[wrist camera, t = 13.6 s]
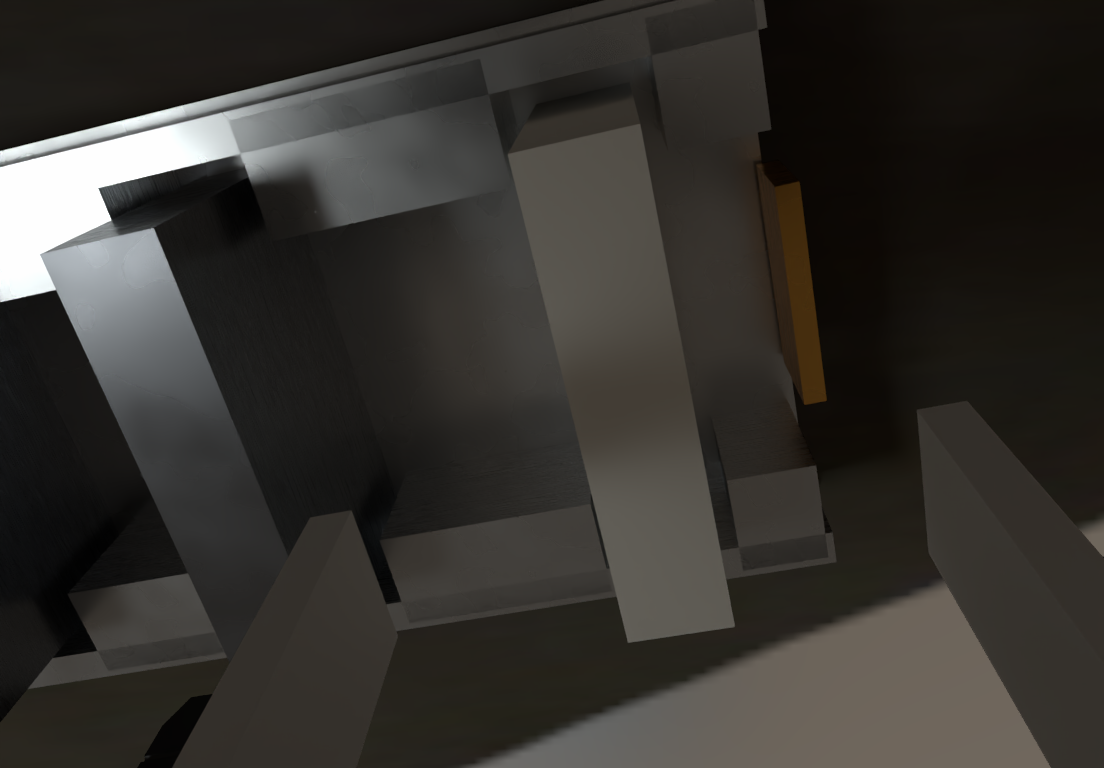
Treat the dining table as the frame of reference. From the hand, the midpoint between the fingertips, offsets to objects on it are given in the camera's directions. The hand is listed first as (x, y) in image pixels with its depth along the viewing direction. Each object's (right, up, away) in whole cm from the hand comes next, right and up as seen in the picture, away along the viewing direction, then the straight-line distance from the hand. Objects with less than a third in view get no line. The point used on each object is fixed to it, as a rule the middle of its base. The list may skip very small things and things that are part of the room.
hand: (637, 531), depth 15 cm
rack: (-9, +4, +14) cm, 17 cm away
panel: (+1, +5, +12) cm, 13 cm away
